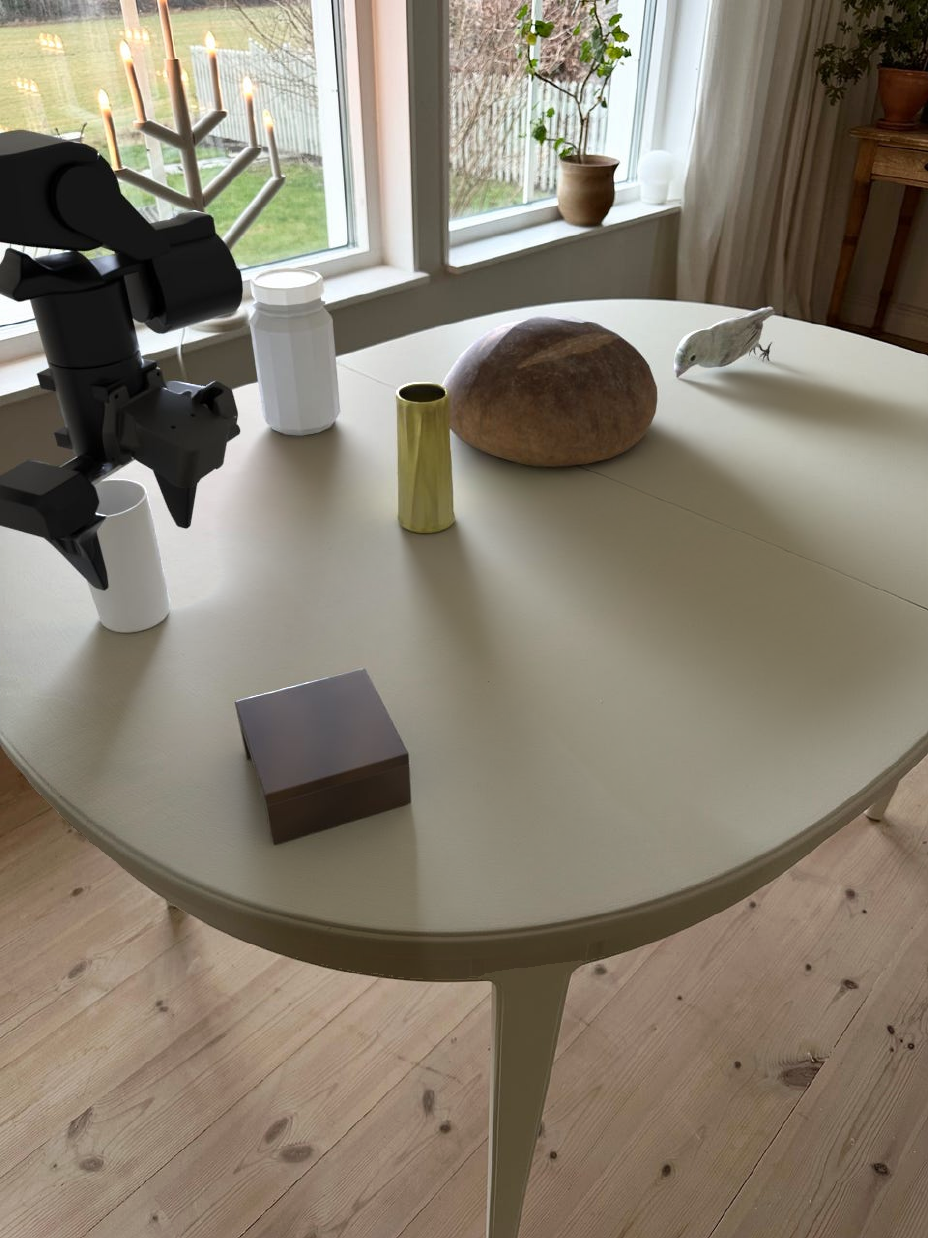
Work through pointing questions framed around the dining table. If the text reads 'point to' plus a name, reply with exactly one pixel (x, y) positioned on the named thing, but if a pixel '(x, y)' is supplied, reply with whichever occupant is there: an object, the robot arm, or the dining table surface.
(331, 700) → the wooden box
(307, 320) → the jar
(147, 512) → the mug
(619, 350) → the bread
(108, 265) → the robot arm
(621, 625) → the dining table surface
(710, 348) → the decorative bird
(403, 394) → the vase
